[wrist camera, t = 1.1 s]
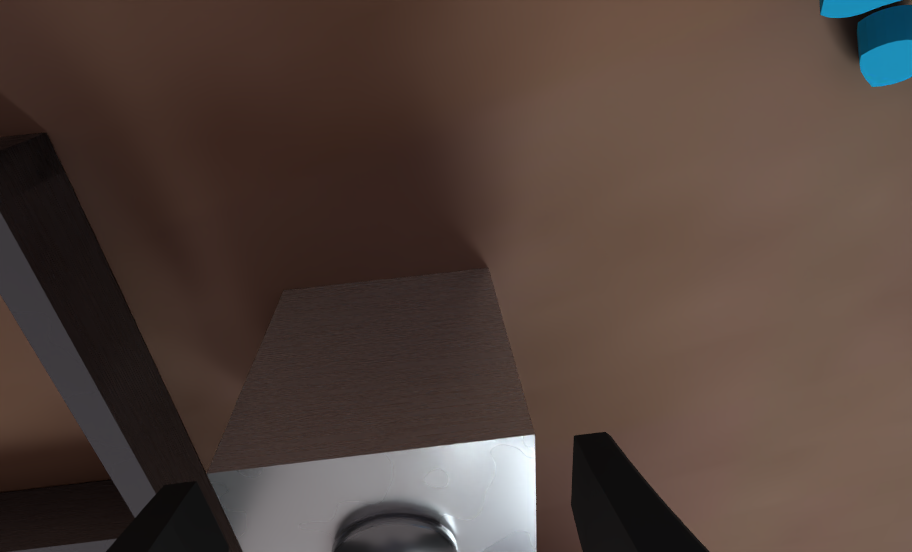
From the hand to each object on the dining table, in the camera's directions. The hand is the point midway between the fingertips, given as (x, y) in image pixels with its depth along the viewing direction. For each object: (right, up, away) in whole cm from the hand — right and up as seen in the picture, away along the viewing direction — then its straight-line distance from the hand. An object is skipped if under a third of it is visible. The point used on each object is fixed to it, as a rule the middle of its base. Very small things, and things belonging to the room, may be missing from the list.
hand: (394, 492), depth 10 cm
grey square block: (0, +2, +4) cm, 4 cm away
